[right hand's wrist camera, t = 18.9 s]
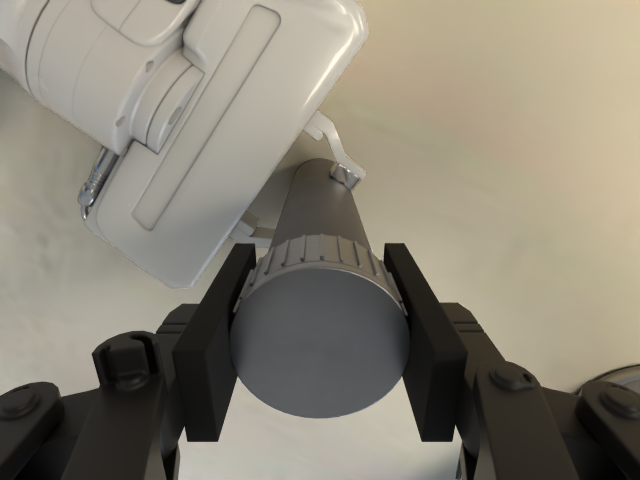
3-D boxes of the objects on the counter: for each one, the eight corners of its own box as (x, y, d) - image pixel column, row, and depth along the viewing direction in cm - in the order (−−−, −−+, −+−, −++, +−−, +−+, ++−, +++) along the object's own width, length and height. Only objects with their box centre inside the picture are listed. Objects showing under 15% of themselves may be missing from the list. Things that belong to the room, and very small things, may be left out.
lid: (230, 238, 12) (208, 272, 9) (396, 225, 11) (415, 256, 9) (254, 371, 13) (241, 425, 11) (397, 361, 13) (413, 415, 11)
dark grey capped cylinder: (306, 220, 31) (286, 408, 12) (283, 172, 29) (216, 300, 10) (355, 199, 30) (415, 362, 11) (333, 148, 29) (360, 239, 10)
